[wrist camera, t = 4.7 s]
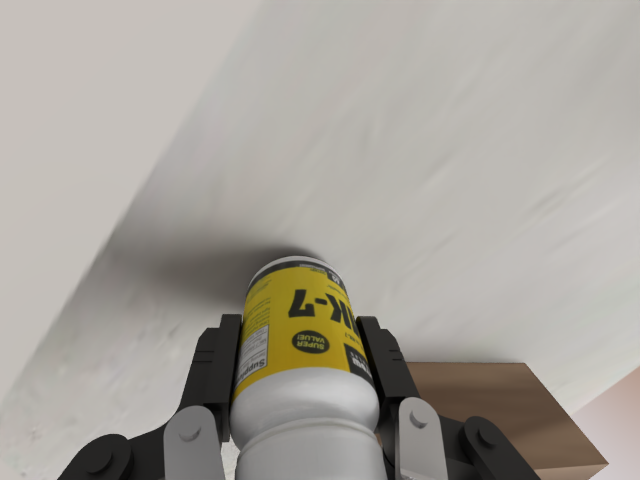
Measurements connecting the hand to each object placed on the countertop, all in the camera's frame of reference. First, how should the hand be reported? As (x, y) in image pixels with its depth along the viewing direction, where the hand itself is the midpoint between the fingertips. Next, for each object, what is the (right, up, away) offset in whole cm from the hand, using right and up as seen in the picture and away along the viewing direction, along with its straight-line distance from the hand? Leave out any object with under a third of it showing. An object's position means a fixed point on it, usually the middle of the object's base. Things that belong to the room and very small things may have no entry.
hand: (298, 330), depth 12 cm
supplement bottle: (0, +1, +2) cm, 3 cm away
